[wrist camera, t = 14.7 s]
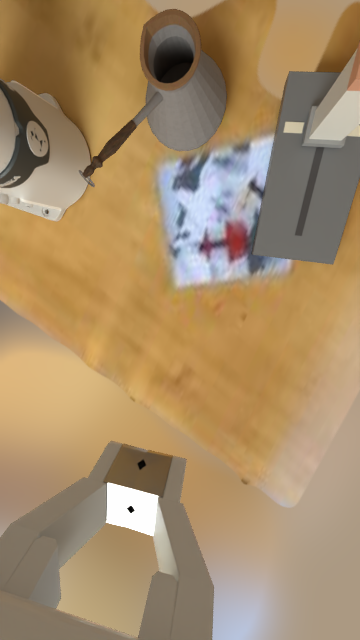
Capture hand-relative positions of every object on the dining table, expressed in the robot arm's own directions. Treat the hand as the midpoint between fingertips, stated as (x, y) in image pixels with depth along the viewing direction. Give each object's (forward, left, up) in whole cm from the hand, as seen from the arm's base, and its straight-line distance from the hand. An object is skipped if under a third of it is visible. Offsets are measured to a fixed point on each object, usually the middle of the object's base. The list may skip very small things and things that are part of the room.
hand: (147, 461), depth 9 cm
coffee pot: (-10, +22, -37) cm, 44 cm away
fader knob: (+12, +24, -34) cm, 43 cm away
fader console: (+12, +18, -37) cm, 43 cm away
